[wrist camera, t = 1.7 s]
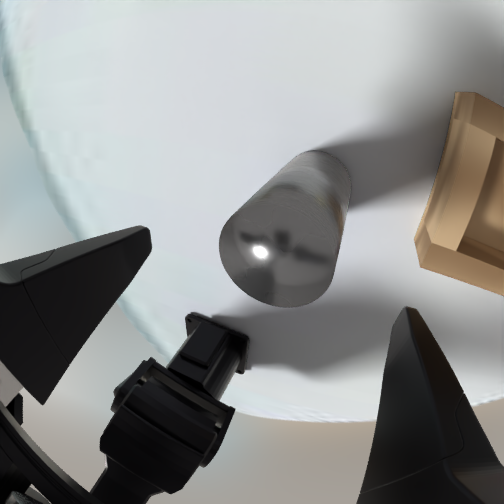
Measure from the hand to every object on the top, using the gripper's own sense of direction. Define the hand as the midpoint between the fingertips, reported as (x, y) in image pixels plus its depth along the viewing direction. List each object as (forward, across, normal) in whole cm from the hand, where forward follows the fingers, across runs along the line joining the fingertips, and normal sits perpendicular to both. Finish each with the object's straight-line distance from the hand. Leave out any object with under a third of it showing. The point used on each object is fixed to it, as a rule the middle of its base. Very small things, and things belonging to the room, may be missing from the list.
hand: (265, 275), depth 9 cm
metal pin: (+9, 0, 0) cm, 9 cm away
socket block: (+9, -11, -3) cm, 14 cm away
